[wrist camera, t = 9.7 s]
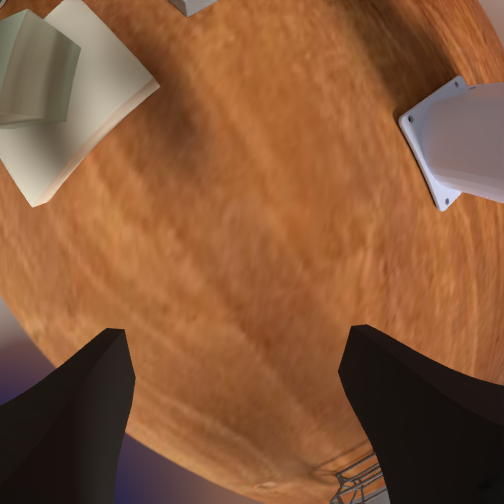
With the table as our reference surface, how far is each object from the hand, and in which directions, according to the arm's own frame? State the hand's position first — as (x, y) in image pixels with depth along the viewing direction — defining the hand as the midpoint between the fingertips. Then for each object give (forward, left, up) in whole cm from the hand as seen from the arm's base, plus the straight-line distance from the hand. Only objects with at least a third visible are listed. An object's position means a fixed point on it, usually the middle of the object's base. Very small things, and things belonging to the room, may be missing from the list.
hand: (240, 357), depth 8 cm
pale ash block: (+2, -15, -9) cm, 18 cm away
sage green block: (+2, -15, -7) cm, 17 cm away
